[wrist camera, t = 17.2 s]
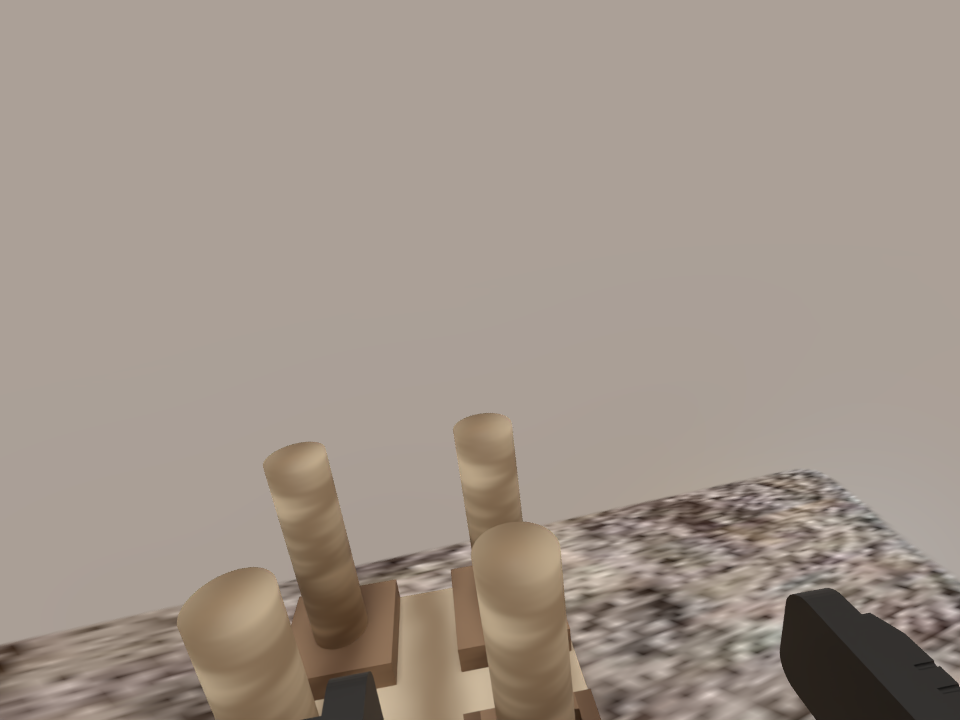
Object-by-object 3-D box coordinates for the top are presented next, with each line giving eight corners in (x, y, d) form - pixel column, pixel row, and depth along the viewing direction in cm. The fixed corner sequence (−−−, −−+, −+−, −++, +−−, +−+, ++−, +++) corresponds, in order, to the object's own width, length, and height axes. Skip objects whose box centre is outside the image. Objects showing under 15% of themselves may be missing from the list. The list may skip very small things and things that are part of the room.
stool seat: (226, 1010, 23) (64, 713, 17) (311, 643, 42) (249, 437, 36) (650, 912, 25) (644, 603, 19) (550, 598, 44) (530, 393, 37)
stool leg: (509, 841, 26) (467, 585, 20) (510, 759, 29) (474, 524, 24) (586, 841, 25) (564, 580, 20) (577, 758, 29) (556, 519, 24)
